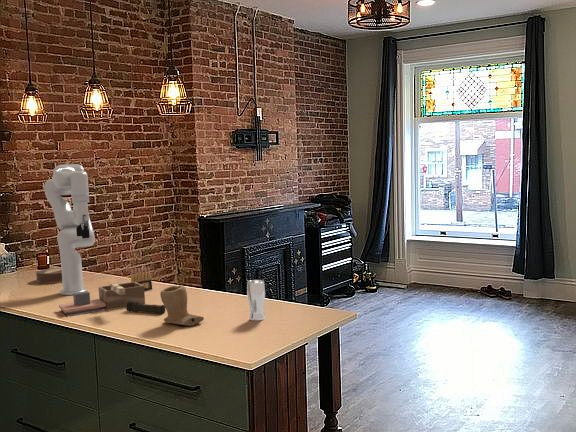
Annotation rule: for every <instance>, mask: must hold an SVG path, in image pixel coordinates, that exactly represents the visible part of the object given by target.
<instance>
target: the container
mask: <svg viewBox="0 0 576 432" xmlns="http://www.w3.org/2000/svg"><path fill="white" fill-rule="evenodd" d="M35 273H36V275H35V276H36V283H37V284H40V283H43V284H44V285H52V284H61V283H62V269H61V267H52V268H46V269H41V270H38V271H35ZM43 284H42V285H43ZM62 284H63V283H62Z"/></svg>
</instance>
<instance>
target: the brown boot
mask: <svg viewBox="0 0 576 432" xmlns="http://www.w3.org/2000/svg"><path fill="white" fill-rule="evenodd" d="M160 300H161V302H162V305H164V306H165V311H166V312H167V316H166V317H164V318H163V322H165V323H166V324H167V323H168V324H173V325H181V326H189V327H191V326H195V325H198V324H199V323H201V322H202V321H204V319H205V318H204V316H201V315H195V314H190V313H188V292H187V289H186V287H185V286H184V285H183V284H180V285H172V286H171V285H170V286H169V287H165V288H163V289H162V290H160Z"/></svg>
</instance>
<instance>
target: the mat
mask: <svg viewBox="0 0 576 432" xmlns="http://www.w3.org/2000/svg"><path fill="white" fill-rule="evenodd" d="M61 311H62V312H63V313H64V314H65V315H66V316H68V317H73V316H80V315H85V314H93V313H99V312H103V311H105V308H104V307H101V309H95V310H88V311H82V312H76V313H70V314H68V313H65V312H64V311H63V310H61Z"/></svg>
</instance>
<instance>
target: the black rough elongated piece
mask: <svg viewBox="0 0 576 432" xmlns="http://www.w3.org/2000/svg"><path fill="white" fill-rule="evenodd" d="M125 309H126V311H127V312H130V313H139V312H140V313H150V314H159V315H164V314H165V313H166V308H165V306H164V304H161V305H160V304H159V305H158V304H146V303H145V304H139V302H135V301H129V302H128V303H127V305H126V307H125Z"/></svg>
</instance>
